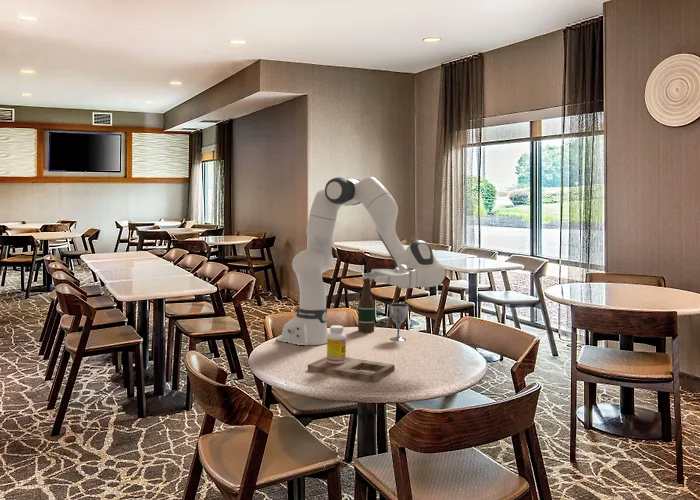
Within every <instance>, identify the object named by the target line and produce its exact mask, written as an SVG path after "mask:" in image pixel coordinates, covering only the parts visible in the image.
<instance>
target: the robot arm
mask: <svg viewBox="0 0 700 500" xmlns="http://www.w3.org/2000/svg"><path fill="white" fill-rule="evenodd" d="M359 204H361V205H363V207H364V208H365V210H366V211H367V212H368V213H369V215H370V217H371V219H372V221H373V223H374V226H375V228H376V231H377V233H378V236H379V238H380V240H381V241H382V244H384V246H385V248H386V250H387V252H388V253H389V255H390V257H391V259H392V262H393V264H394V269H390V268H372V269H371V271H370V272H366V273H365V272H364V273H363V279H364V278H366V279H367V278H370V279H373V281H374V283H375V282H376V283H384V284H387V285H391V286H393V287H398V288H399V289H415V288H416V287H420V288H430V287H431V288H432V287H436V286H440V285H441V284H442V283H443V282H444V280H445V276H446V270H445V266H444V265H443V263H440V262H439V261H438V260H437V258H436V256H435V255H434V253H433V249H432V247H431V245H430V244H429V243H428V242H426V241H425V240H420V239H415V240H413V241H412V242H410V244H409V245H408V246H407V248H405V247H404V245H403V244H402V241H401V239H400V238H399V237H398V234H397V231H396V224H397V219H398V214H399V207H398V204H397V201H396V199H394V197H393V196H392V194H391V193H390V191H388V188H386V187H385V185H383V183H382V182H381V181H379V180H378V179H377V178H375V177H374V176H366V177H364V178H363V179H361V180H360V179H357V178H352V177H341V176H339V177H333V178H331V179H329V180H328V181H327V183H326V184H325V187H324V189H321V190H318V191H317V192H316V194H315V196H314V198H313V201H312V204H311V207H310V211H309V216H308V222H307V225H306V231H305V232H306V233H305V234H306V236H307V248H306V249H305V250H301V251H299V252H298V253H297V254H296V255H295V256H294V257H293V259H292V261H291V262H292V263H291V266H292V267H291V268H292V270H293V271H294V273H295V274H296V278H297V283H298V287H299V290H298V291H299V307H298V308H296V309H295V310H294V313H295V316H293V317H292V319H290V320H288V322H286V323H285V324H284V325H283V328H282V332H281V334H279V335H277V337H276V341H279V342H283V343H286V342H288V343H287V344H291V343H292V344H291V345H295V344H297V345H296V346H299V345H305V346H317V345H318V346H319V345H325V344H327V336H328V334H329V332H328V326H327V324H328V323H327V319H328V308H327V289H326V286H325V285H324V281H323V274H324V273H326V272H327V271H329V270H330V268H331V267H332V266H333V264H334V256H333V237H334V231H335V226H336V221H337V217H338V212H339V210H340V208H341V207H342V206H345V207H347V206H357V205H359Z"/></svg>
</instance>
